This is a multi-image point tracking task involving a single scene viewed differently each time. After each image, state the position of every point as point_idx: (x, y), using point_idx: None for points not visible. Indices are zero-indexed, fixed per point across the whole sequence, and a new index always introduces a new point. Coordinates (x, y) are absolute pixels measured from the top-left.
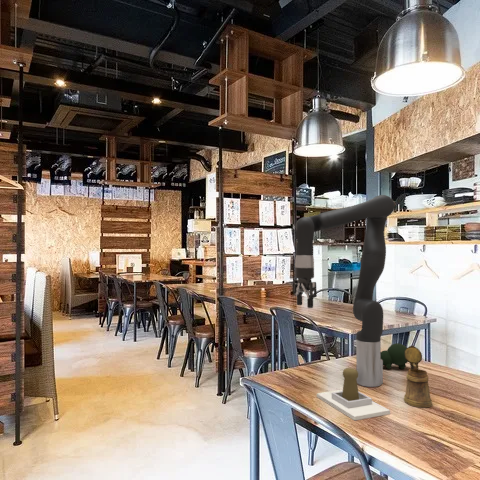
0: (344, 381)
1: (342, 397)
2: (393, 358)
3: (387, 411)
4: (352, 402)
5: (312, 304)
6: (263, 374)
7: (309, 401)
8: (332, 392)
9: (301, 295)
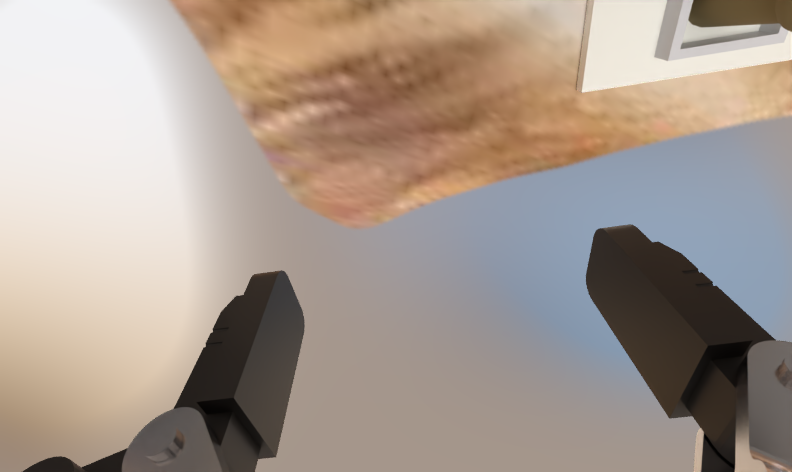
0: (774, 23)
1: (710, 26)
2: None
3: None
4: None
5: (689, 275)
6: (294, 196)
7: (597, 131)
8: (606, 20)
9: (199, 413)
